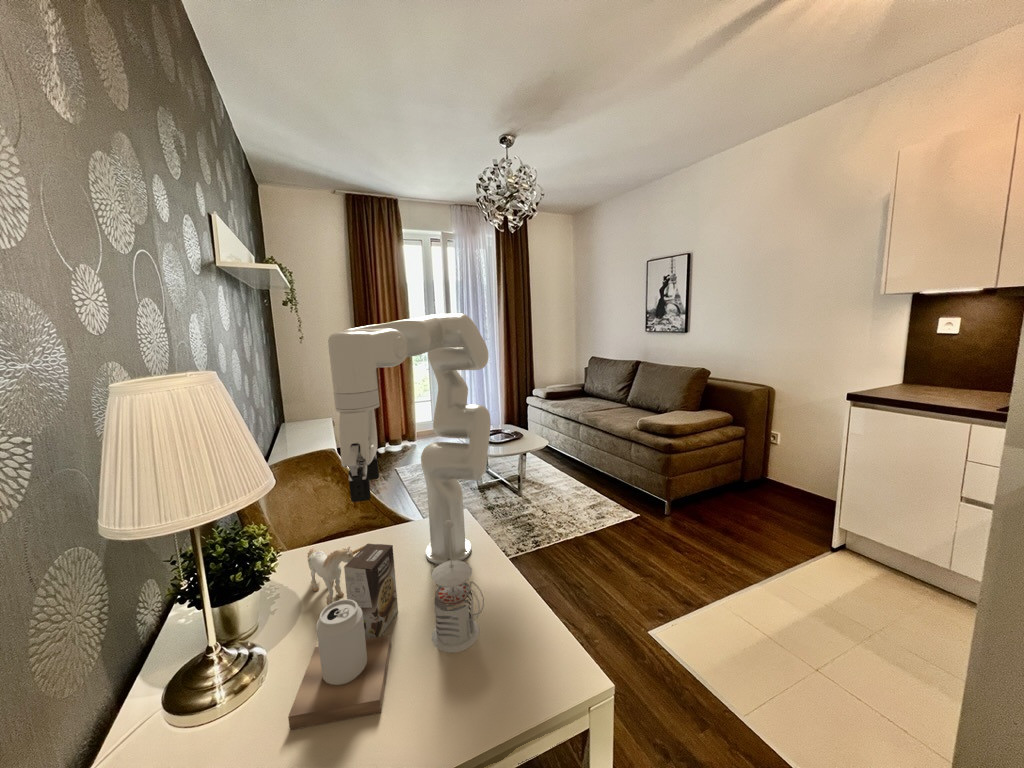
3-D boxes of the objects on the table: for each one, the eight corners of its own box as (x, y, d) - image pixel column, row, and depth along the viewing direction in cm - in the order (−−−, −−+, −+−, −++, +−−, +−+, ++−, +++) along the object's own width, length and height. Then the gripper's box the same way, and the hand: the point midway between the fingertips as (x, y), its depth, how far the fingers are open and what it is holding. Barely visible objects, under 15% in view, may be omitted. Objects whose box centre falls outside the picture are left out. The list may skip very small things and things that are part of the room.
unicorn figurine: (352, 615, 89) (347, 560, 87) (291, 594, 96) (284, 543, 94) (375, 595, 95) (370, 543, 93) (316, 576, 103) (310, 528, 101)
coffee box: (378, 642, 81) (371, 569, 78) (349, 638, 82) (342, 566, 80) (399, 610, 90) (393, 544, 87) (373, 607, 91) (367, 541, 89)
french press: (449, 610, 89) (442, 505, 85) (495, 626, 84) (490, 515, 80) (421, 642, 81) (412, 527, 77) (470, 662, 75) (463, 540, 72)
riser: (316, 658, 78) (315, 647, 77) (391, 646, 80) (390, 635, 80) (290, 730, 64) (288, 716, 64) (381, 712, 66) (379, 699, 66)
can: (331, 655, 75) (324, 597, 73) (372, 651, 76) (366, 593, 74) (315, 691, 68) (307, 628, 66) (361, 686, 68) (354, 623, 67)
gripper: (346, 393, 80) (354, 474, 83) (321, 412, 63) (333, 513, 66) (385, 390, 82) (392, 470, 84) (370, 408, 65) (380, 507, 68)
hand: (366, 489), depth 75 cm, fingers open, 9 cm apart
